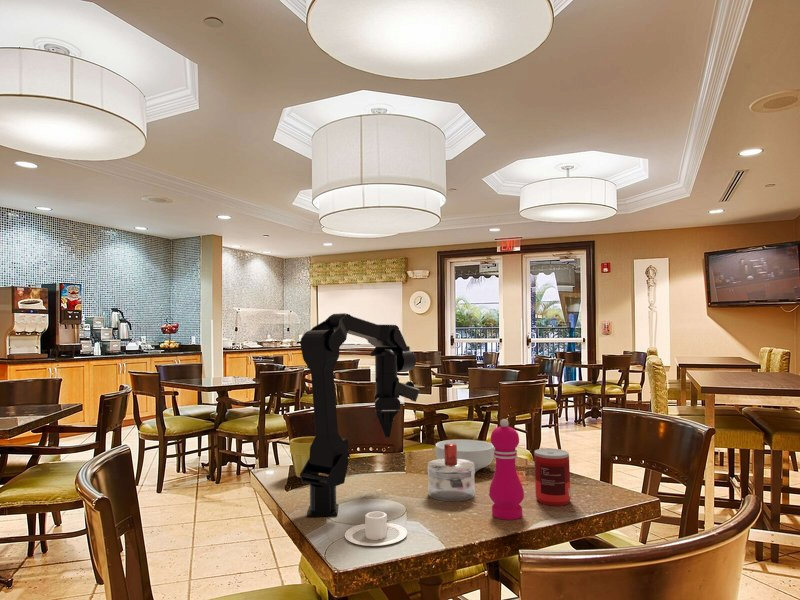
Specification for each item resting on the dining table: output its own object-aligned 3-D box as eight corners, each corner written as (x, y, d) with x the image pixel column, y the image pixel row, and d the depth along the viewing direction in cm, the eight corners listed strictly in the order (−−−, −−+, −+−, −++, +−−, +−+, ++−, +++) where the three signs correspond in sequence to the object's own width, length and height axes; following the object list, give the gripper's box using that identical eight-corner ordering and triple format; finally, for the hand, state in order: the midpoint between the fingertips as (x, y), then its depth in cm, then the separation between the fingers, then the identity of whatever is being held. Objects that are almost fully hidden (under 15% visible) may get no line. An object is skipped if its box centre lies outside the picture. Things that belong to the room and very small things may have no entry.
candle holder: (338, 530, 106) (338, 508, 106) (396, 523, 110) (395, 501, 110) (352, 553, 94) (352, 528, 95) (416, 544, 98) (415, 520, 98)
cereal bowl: (484, 480, 140) (484, 452, 140) (426, 474, 147) (426, 448, 147) (501, 465, 155) (501, 440, 155) (448, 460, 162) (447, 437, 163)
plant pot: (331, 470, 152) (331, 436, 153) (322, 480, 142) (322, 443, 142) (296, 470, 153) (295, 436, 154) (284, 480, 143) (284, 443, 143)
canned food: (555, 494, 126) (554, 447, 127) (578, 503, 119) (576, 453, 120) (528, 498, 124) (527, 450, 124) (550, 508, 116) (548, 457, 117)
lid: (479, 476, 123) (478, 448, 123) (431, 478, 122) (430, 450, 122) (469, 464, 134) (468, 439, 134) (425, 466, 133) (424, 440, 133)
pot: (482, 503, 120) (481, 475, 120) (433, 505, 119) (433, 477, 119) (467, 484, 136) (466, 459, 136) (424, 485, 135) (424, 461, 135)
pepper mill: (499, 522, 108) (496, 422, 109) (484, 511, 115) (481, 417, 116) (531, 518, 110) (527, 420, 111) (514, 507, 117) (511, 415, 118)
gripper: (420, 375, 129) (421, 440, 128) (414, 370, 148) (415, 427, 147) (374, 376, 129) (375, 441, 128) (374, 371, 147) (375, 428, 146)
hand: (387, 434), depth 137 cm, fingers open, 9 cm apart
